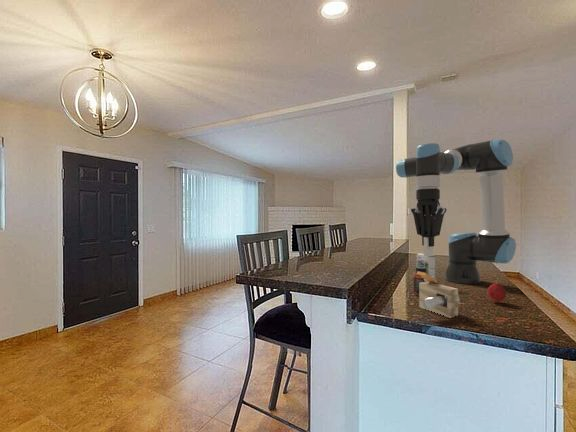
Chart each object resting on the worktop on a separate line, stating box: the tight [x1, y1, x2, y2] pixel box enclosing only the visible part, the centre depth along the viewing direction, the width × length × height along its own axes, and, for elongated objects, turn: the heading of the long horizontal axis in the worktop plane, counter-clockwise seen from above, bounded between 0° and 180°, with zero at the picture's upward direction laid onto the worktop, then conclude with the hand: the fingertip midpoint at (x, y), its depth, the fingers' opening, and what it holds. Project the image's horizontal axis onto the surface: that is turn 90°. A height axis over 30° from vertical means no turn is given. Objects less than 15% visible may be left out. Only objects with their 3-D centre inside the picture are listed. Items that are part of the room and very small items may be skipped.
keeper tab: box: [417, 271, 440, 284], centre depth 107 cm, size 8×4×1 cm, turn 116°
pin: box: [422, 294, 461, 309], centre depth 101 cm, size 13×5×5 cm, turn 116°
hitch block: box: [418, 281, 459, 319], centre depth 105 cm, size 4×12×9 cm, turn 26°
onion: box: [486, 281, 507, 304], centre depth 113 cm, size 6×6×8 cm
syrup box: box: [416, 252, 436, 279], centre depth 141 cm, size 6×6×14 cm
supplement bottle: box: [412, 266, 429, 297], centre depth 125 cm, size 6×6×11 cm
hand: (428, 255), depth 107 cm, fingers closed
